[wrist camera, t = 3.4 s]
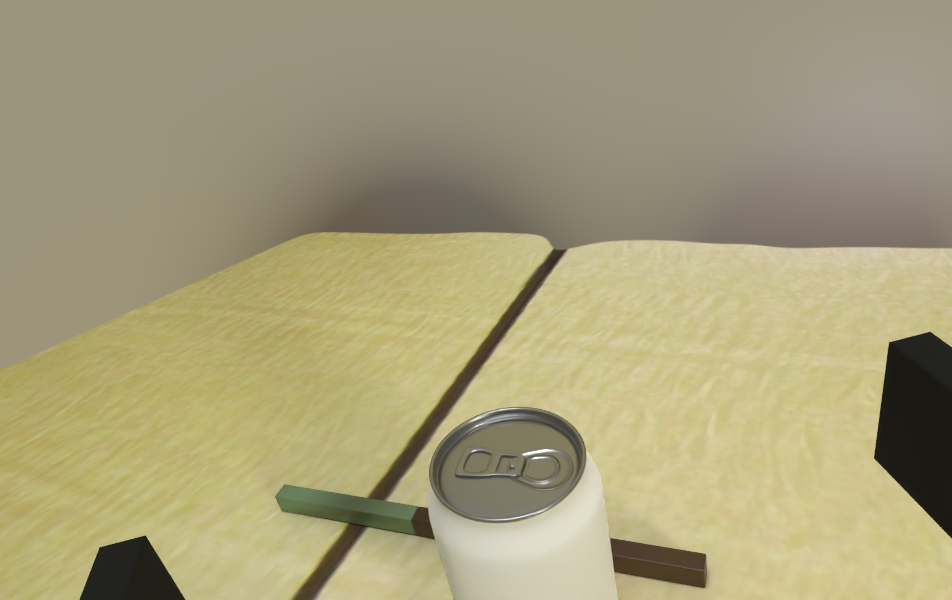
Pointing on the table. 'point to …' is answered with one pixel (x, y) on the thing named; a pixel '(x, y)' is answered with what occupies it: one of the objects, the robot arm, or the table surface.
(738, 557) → the table surface
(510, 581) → the can
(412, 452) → the table surface
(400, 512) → the chopsticks
